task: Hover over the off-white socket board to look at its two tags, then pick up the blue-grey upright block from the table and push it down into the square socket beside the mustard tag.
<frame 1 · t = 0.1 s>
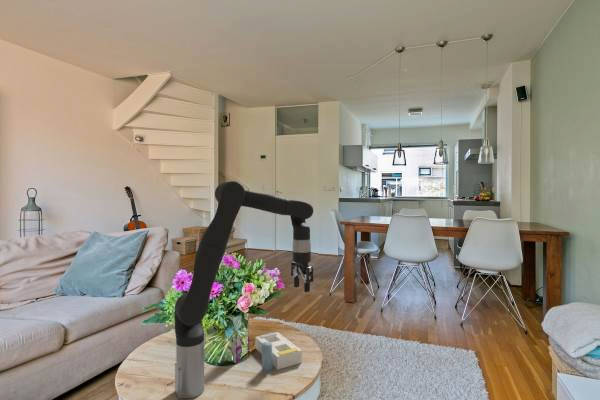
hand: (301, 289, 139), 29 cm above the table, fingers open, 8 cm apart
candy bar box: (238, 357, 142), on the table
socket board: (277, 355, 143), on the table
blue-grey upright block: (267, 369, 131), on the table
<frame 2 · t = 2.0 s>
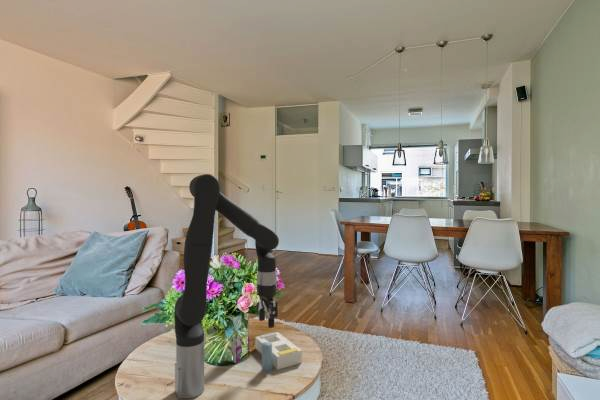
hand: (266, 323, 131), 18 cm above the table, fingers open, 8 cm apart
nothing on the table moved.
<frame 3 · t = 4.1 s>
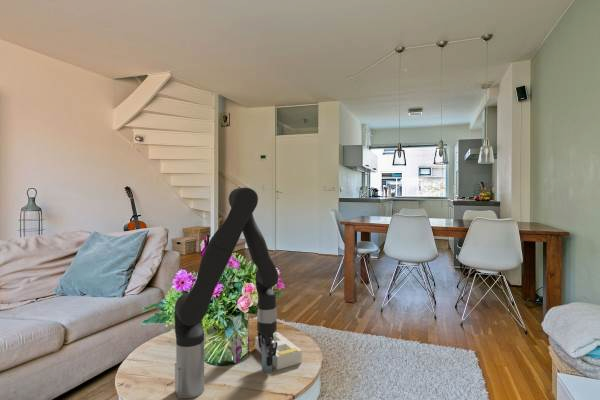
hand: (267, 362, 131), 3 cm above the table, fingers closed on blue-grey upright block, 4 cm apart
blue-grey upright block: (267, 369, 131), on the table, touching gripper
everything else where it was.
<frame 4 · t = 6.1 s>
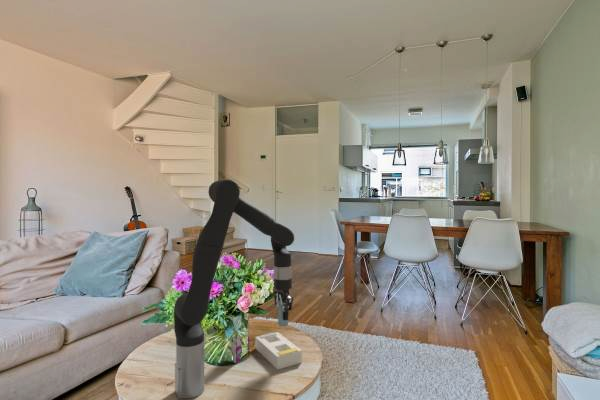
hand: (283, 318, 139), 17 cm above the table, fingers closed on blue-grey upright block, 4 cm apart
blue-grey upright block: (283, 324, 139), point 15 cm above the table, touching gripper
everything else where it was.
when the fingers open (6 cm above the table, at t = 8.2 s): blue-grey upright block drops 2 cm, resting on socket board.
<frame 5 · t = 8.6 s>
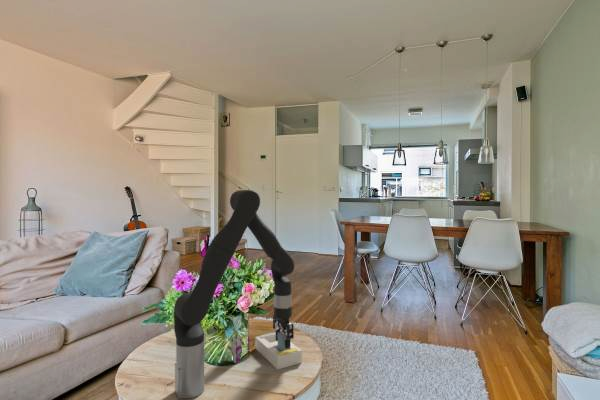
hand: (282, 344, 139), 7 cm above the table, fingers open, 8 cm apart
blue-grey upright block: (282, 357, 139), point 1 cm above the table, touching socket board
everything else where it was.
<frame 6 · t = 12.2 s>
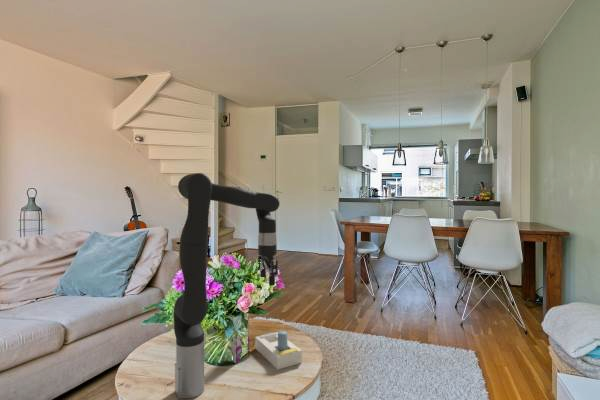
hand: (267, 283, 138), 32 cm above the table, fingers open, 8 cm apart
nothing on the table moved.
at the end: blue-grey upright block 0.1 cm from the target spot on the socket board, point 1.0 cm above the socket board's base; blue-grey upright block tilted 0°; the gripper is holding nothing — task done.
